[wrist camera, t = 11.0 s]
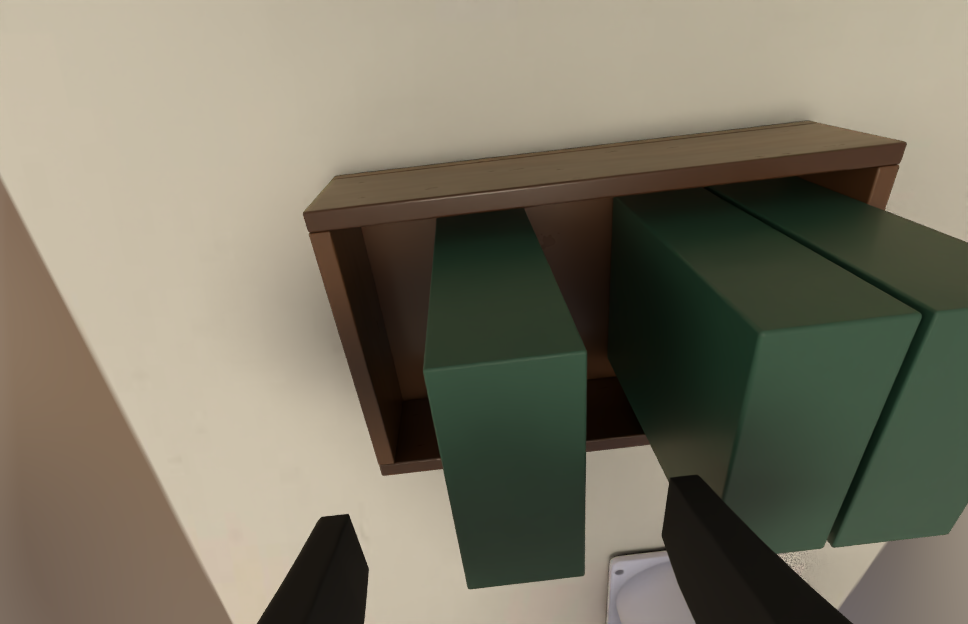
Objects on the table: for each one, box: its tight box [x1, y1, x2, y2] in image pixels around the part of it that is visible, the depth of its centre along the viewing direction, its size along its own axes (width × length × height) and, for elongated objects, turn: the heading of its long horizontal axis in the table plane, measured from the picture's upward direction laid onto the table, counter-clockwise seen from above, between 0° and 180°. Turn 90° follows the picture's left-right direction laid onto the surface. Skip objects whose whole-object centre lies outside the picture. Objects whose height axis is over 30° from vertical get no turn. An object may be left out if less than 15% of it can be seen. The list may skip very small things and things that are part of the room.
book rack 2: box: [705, 176, 968, 548], centre depth 14 cm, size 7×3×9 cm, turn 6°
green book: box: [423, 208, 587, 589], centre depth 14 cm, size 7×3×9 cm, turn 6°
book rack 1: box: [303, 121, 907, 476], centre depth 17 cm, size 10×16×4 cm, turn 96°
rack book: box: [607, 187, 922, 554], centre depth 14 cm, size 7×3×9 cm, turn 6°
